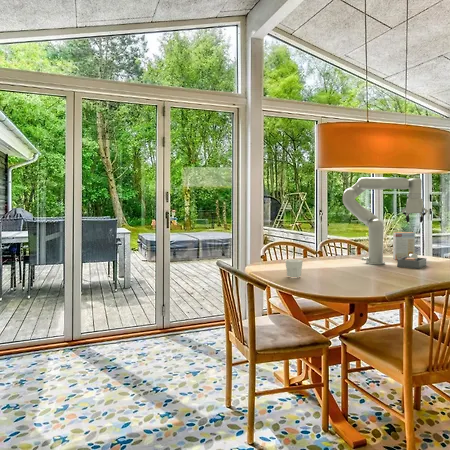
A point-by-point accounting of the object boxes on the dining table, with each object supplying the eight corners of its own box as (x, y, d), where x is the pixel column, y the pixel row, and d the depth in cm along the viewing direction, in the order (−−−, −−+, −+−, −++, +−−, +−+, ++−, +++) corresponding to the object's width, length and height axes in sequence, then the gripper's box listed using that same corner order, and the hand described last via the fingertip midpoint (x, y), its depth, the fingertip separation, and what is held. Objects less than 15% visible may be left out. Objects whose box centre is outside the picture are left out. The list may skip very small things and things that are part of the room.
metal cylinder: (408, 264, 258) (409, 254, 258) (409, 263, 262) (409, 253, 262) (417, 265, 256) (417, 254, 255) (417, 264, 260) (417, 253, 259)
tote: (419, 268, 245) (419, 261, 245) (397, 266, 254) (397, 259, 254) (426, 265, 258) (426, 258, 258) (405, 263, 267) (405, 256, 267)
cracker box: (411, 259, 288) (412, 231, 286) (414, 260, 282) (415, 232, 280) (392, 259, 289) (393, 231, 288) (395, 260, 283) (395, 232, 282)
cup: (285, 278, 217) (285, 261, 217) (285, 275, 227) (285, 259, 226) (303, 279, 216) (303, 262, 215) (301, 275, 226) (302, 259, 225)
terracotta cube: (412, 266, 250) (413, 259, 250) (404, 265, 253) (405, 258, 253) (415, 265, 254) (415, 258, 253) (407, 264, 257) (407, 257, 257)
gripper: (399, 196, 259) (399, 222, 260) (427, 196, 248) (427, 222, 249) (403, 196, 265) (402, 221, 266) (430, 196, 253) (429, 222, 254)
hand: (414, 222), depth 257 cm, fingers open, 7 cm apart
